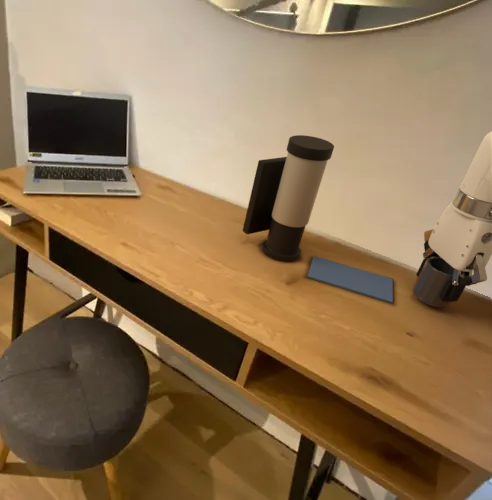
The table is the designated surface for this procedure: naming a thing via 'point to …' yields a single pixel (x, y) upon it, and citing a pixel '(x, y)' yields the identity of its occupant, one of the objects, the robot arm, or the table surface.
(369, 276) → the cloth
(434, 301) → the pot
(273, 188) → the light fixture
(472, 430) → the table surface
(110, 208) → the table surface
